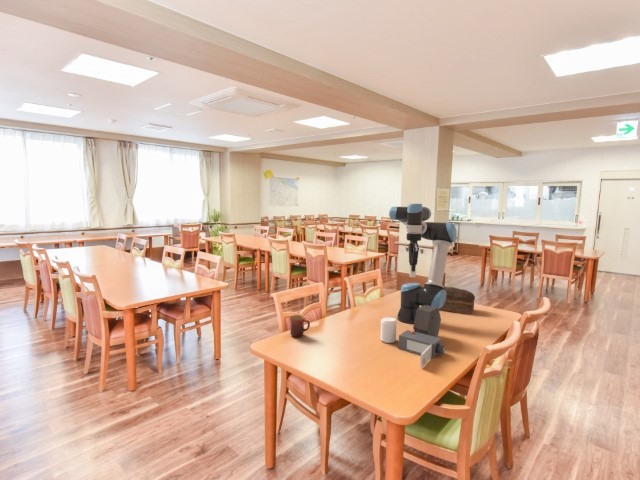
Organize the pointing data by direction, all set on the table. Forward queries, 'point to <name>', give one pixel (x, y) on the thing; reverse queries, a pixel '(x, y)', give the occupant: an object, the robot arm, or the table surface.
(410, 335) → the camcorder
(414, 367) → the table surface
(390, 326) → the beverage can
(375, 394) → the table surface
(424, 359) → the door
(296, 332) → the mug
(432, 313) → the grey bevelled block
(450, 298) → the bread
